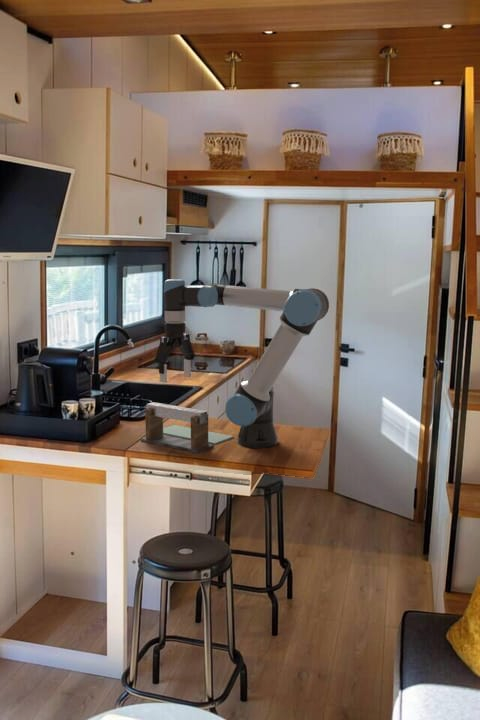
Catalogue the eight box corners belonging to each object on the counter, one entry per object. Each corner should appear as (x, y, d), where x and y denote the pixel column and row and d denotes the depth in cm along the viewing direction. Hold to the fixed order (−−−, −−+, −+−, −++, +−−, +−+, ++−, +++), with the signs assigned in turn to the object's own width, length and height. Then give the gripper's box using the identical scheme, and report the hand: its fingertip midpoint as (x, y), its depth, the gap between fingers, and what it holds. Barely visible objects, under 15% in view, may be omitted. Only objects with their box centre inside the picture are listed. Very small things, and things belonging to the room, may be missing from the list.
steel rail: (207, 422, 252) (207, 411, 251) (200, 424, 249) (200, 413, 248) (153, 412, 267) (153, 402, 266) (146, 414, 264) (146, 404, 263)
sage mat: (233, 437, 269) (233, 436, 269) (215, 444, 259) (215, 443, 259) (174, 426, 286) (174, 425, 286) (154, 432, 276) (154, 431, 276)
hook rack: (213, 447, 255) (213, 414, 253) (198, 453, 248) (198, 419, 246) (156, 435, 271) (156, 404, 269) (140, 440, 264) (140, 408, 262)
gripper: (188, 319, 265) (189, 373, 268) (143, 324, 245) (144, 383, 248) (204, 320, 260) (204, 375, 264) (159, 325, 240) (160, 385, 243)
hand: (175, 379), depth 256 cm, fingers open, 13 cm apart
